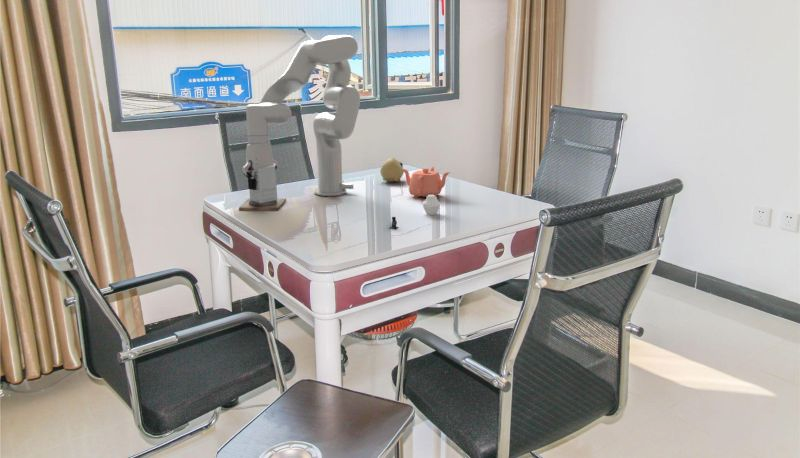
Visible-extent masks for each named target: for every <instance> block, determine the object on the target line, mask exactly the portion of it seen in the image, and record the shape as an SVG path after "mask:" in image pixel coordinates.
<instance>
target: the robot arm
mask: <svg viewBox="0 0 800 458" xmlns="http://www.w3.org/2000/svg"><path fill="white" fill-rule="evenodd" d="M358 47H359V46H358V41H357V39H355V38H354V36H352V35H348V34H342V35H341V34H339V35H337V34H336V35H334V34H333V35H332V34H331V35H327V36H325V37H323V38H322V39H320V40H307V41H304V42H302V43H301V44H300V45H299V47H298V49H297V51H296V52H295V54H294V56H293V58H292V59H291V61H290V63H289V65H288V66H287V68H286V70H285V71H284V73H283V74H282V75H281V76H280V77H278V79H276V80H275V82H273V83H272V84H271V85H270V86H269V87H268V88H267V90H266V91H265V93H264V94H263V95H262V98H261V100H259V101H260V102H259V103H253V104H252V103H250V104H248V105H246V108H245V112H246V113H245V114H246V117H245V118H246V128H247V129H246V130H247V144H246V149H245V164H244V165H243V166H242V168H241V170H242V172H243V175H244V176H245V178H246V179H247V184H248V190H249V189H251V190H256V179H254V177H255V175H256V172H257V169H259V168H262V167H266V166H271V165H272V166H275V170H276V171H277V168H278V164H279V160H277V159H276V158H274V152H273V147H272V144H271V135H270V125H272V124H273V125H283V124H286V123H288V122H289V121H290V120H291V118H292V115H293V114H292V110H291V108H290V107H289V106H288V105H287V104H285V103H283V101H284V100H285V99H286V98H287V97H288V96H290V95H292V94H293V93H296V92H297V91H299V90H302V89H303V88H305V86H306V85H307V84H308V81H309V79H310V78H311V76H312V74H313V73H314V70H315V69H316V67H317V66H325V65H327V66H328V73H327V78H326V79H327V80H326V83H325V84H326V85H325V87H324V92H323V98H322V100H323V104H324V106H325V107H326V108H328V109H330V110H335V112H330V111H324V112H320V113H318V114H317V115H316V116H315V117H314V120H313V131H314V136H315V137H314V138H315V144H316V161H317V162H316V163H317V165H316V166H317V185H318V186H317V188H316V189H314V194H315V195H317V196H323V197H336V196H343V195H345V194H347V190H354V184H353V183H345V182H344V181H345V180H344V179H343V168H342V166H343V165H342V164H343V163H342V144H341V141H340V140H346V139H349V138H350V137H351V136H352V134H353V132H354V129H355V126H356V123H357V119H358V114H359V110H360V106H361V96H360V92H359V90H358V89H357V88H356V87H355V86H352V85H350V81H351V74H352V70H351V65H350V62H349V60H350V59H352V58H354V57H355V56H356V54H357V53H358V49H359V48H358ZM252 169H254V170H252ZM251 173H252V175H251Z"/></svg>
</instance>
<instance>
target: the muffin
mask: <svg viewBox="0 0 800 458" xmlns="http://www.w3.org/2000/svg"><path fill="white" fill-rule="evenodd" d="M425 197H426V199H425V200H424V201H423V202H422V206H423V209H424V211H425V214H426V215H428V216H435V215H437V213H438V211H439V209H440V206H441V202H440V200H438V197H437V196H435V195H432V194H431V195H428V196H425Z"/></svg>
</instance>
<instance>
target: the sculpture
mask: <svg viewBox="0 0 800 458" xmlns="http://www.w3.org/2000/svg"><path fill="white" fill-rule="evenodd" d="M396 219H397V218H396V216H392V217H391V226H389V227H388V230H395V231H396V230H398V229H400V228H399V226H397V220H396Z"/></svg>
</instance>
